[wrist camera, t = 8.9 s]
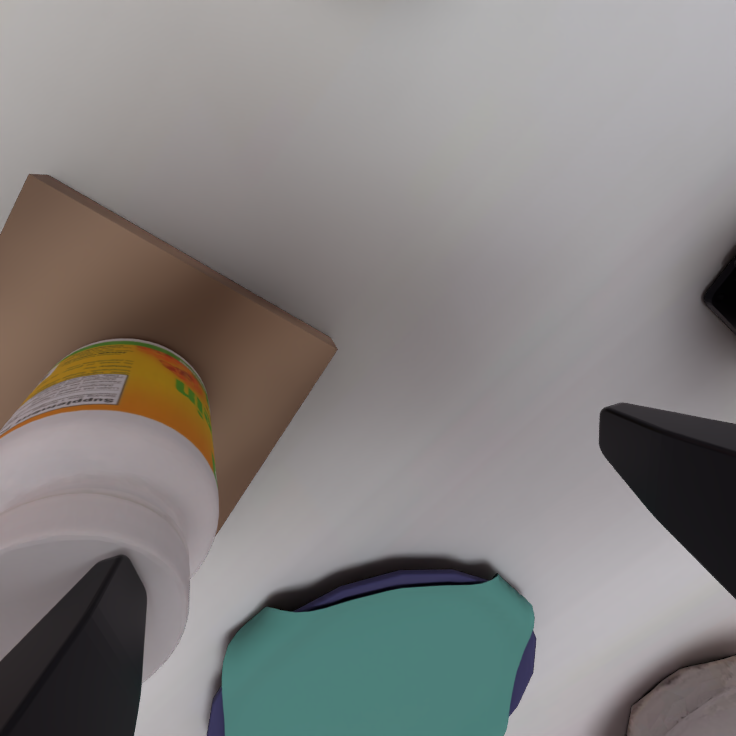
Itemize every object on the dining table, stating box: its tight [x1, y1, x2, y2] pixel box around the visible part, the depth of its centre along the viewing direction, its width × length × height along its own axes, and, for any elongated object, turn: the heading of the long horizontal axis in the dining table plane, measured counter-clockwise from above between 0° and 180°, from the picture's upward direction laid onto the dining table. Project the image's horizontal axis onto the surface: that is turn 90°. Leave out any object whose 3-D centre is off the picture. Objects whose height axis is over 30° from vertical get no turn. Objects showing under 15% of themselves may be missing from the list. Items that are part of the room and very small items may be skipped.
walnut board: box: [0, 174, 338, 536], centre depth 17 cm, size 11×11×2 cm
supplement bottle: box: [0, 339, 219, 683], centre depth 12 cm, size 5×5×10 cm
